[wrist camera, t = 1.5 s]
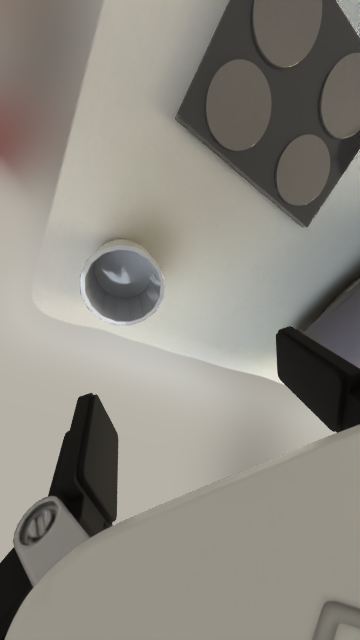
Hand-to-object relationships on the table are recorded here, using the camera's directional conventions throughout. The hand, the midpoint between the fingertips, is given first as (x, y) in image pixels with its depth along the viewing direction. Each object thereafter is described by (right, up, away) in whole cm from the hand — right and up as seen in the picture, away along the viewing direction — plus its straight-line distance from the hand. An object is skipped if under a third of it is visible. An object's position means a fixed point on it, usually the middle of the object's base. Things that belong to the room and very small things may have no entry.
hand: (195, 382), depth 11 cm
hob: (+11, +26, +13) cm, 31 cm away
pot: (-8, +9, +16) cm, 20 cm away
